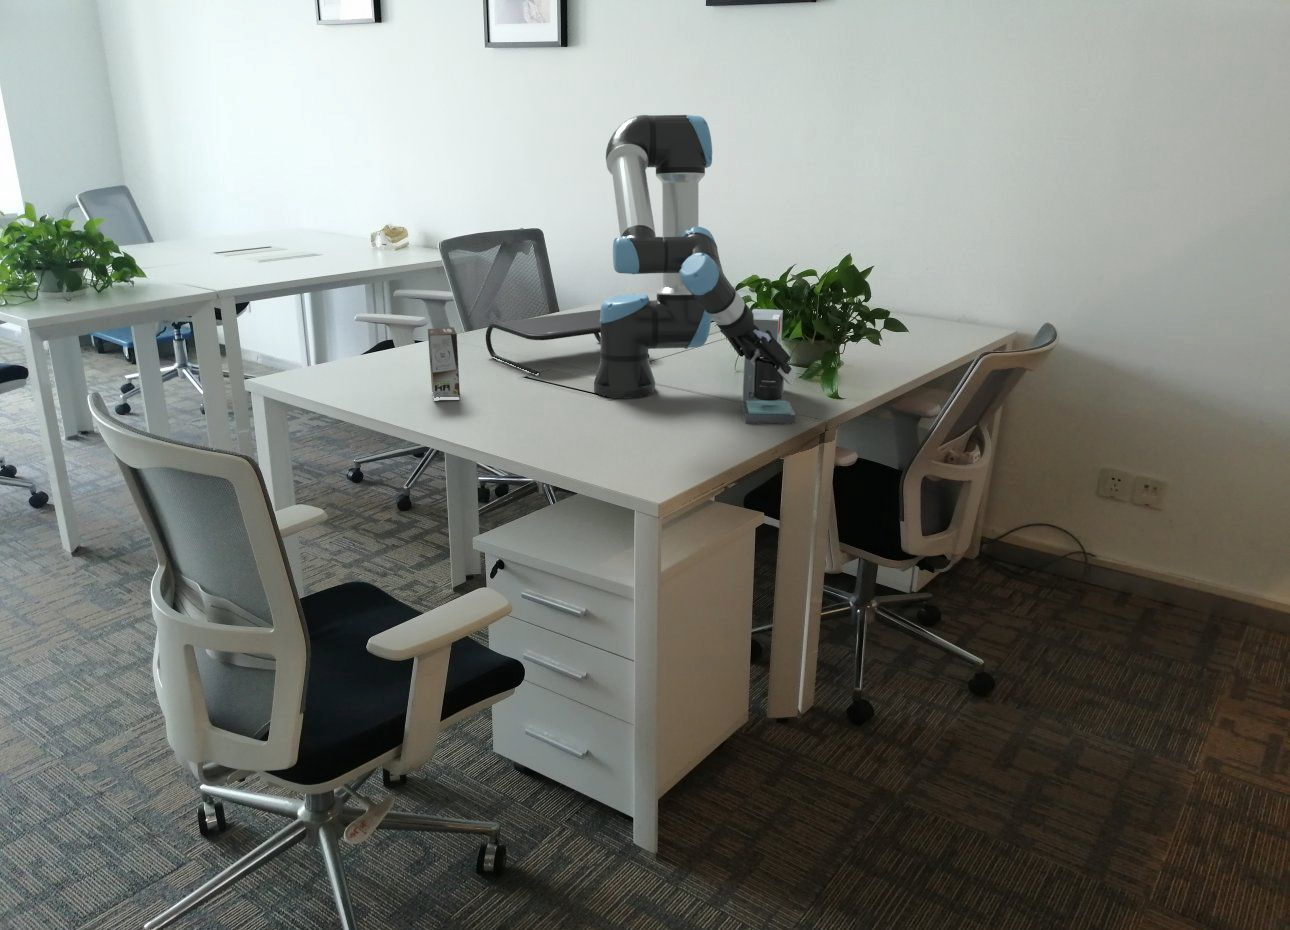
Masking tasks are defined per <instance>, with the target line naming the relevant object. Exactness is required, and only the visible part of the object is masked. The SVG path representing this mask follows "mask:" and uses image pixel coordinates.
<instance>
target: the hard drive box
mask: <svg viewBox="0 0 1290 930" xmlns="http://www.w3.org/2000/svg"><path fill="white" fill-rule="evenodd" d="M751 311H752V313H753V315H754V324H755V325H756V326H757V327H758V328H759V330H760V331H761V332H764V333H765V332H766V330H768V331H770V332H771V334H772V336H773V337H774V339H775V340H776V341H777V342H778V343H779V344H780V345H781V346H782V335H783V315H784V314H783V313H784V310H783V309H768V308H767V309H766V308H763V309H762V308H753V309H752V310H751ZM757 341H758V340H757ZM755 344H756V343H755ZM756 352H759V350H758V349H756V351H755V352H754V353H756ZM743 364H744V365H743V381H742V382H743V384H742V402H746V401H765V400H759V399H756V398H755V397H754V396H753V380H754V365H753V364H752V362H751V361H750V360H748V359H746V358H745V357H744V363H743Z"/></svg>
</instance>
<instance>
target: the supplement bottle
mask: <svg viewBox="0 0 1290 930" xmlns="http://www.w3.org/2000/svg"><path fill="white" fill-rule="evenodd" d="M780 346H781V347H782V348H783V346H782V344H781V345H780ZM759 353H760V355H759V356H758V357H756V359H755V362H754V380H753V396H754V397H755V398H756V399H759V400H765V401H781V399H782V398H783V396H784V387H785V386H784V385H785V380H784V378H783V377H782V376H781V374H780V373H779V372H778V371H777V370H776V369H775V364H774V363H773V362H772V361H771V360H770V359H768V358H767V357H766V356H765V355H764V354H763V353H762V352H761V351H760V350H759Z"/></svg>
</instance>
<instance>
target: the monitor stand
mask: <svg viewBox="0 0 1290 930" xmlns="http://www.w3.org/2000/svg"><path fill="white" fill-rule="evenodd" d="M600 314H601V309H596V310H587V311H580V312H579V311H578V312H571V313H562V314H555V315H547V316H539V317H531V318H525V319H524V318H522V319H515V320H506V321H500V322H499V321H498V322H492V323H491V324H489V325H488V326H487V329H486V332H485V343H486V347H487V351H488V353H489V355H490V356H491V357H495V358H497V359H500V360H502V361H504V362H507V363H509V364H512V365H514V366H516V367H519V368H521V369H524V370H527V371H529V372H531V373H534V374H537V373H539V374H540V372H539V371H538V370H536V369H533V368H531V367H528V366H525V365H522V364H520V363H519V362H515V361H512V360H511V359H508V358H505V357H502V356H500V355H497V354H496V352H495V350H494V347H493V345H492V339H491V337H492V331H493V330H494V329H497V330H500V331H503V332H506V333H509V334H512V335H514V336H517V337H519V338H523V339H526V340H529V341H550V340H557V339H558V340H559V339H564V338H571V337H578V336H586V335H592V334H593V335H594V337H595V339H596V340H597V341H598V343H600V344H601V323H600ZM649 358H650V354H649V353H648V359H649Z"/></svg>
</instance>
